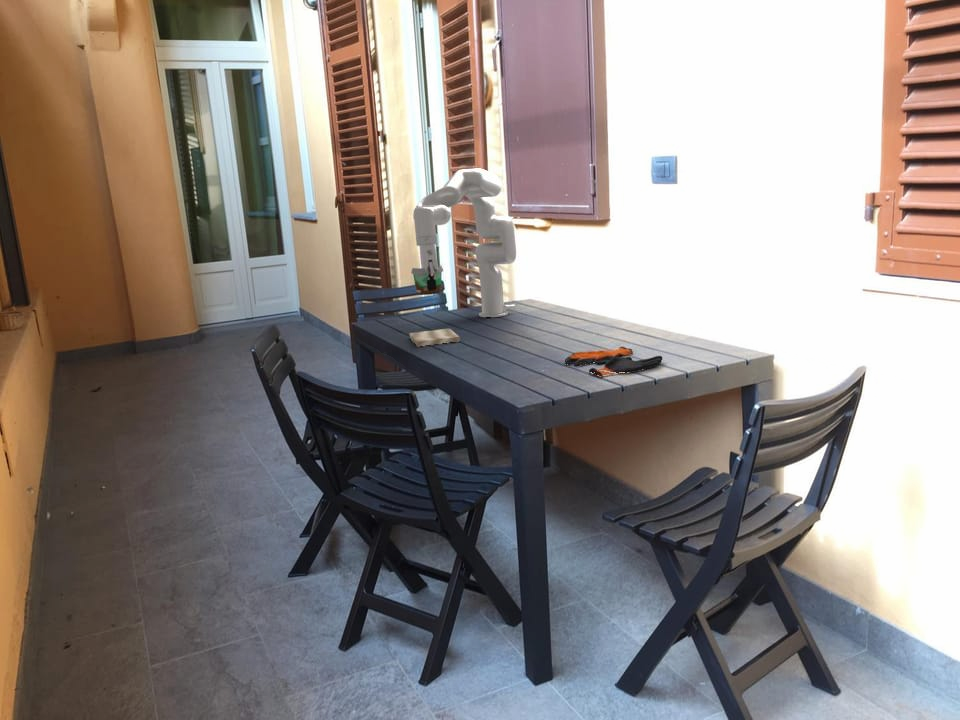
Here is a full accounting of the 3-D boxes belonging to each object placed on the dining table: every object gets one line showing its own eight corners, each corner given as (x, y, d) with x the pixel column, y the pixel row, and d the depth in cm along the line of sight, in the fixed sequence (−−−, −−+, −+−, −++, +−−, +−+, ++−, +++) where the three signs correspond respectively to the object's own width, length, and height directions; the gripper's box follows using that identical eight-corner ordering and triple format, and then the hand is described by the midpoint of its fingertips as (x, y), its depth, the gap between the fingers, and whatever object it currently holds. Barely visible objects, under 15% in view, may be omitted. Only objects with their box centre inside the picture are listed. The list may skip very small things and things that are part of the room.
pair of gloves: (556, 363, 251) (555, 353, 251) (620, 351, 261) (620, 341, 260) (603, 381, 227) (603, 369, 226) (672, 367, 236) (672, 356, 235)
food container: (417, 296, 290) (415, 269, 287) (412, 294, 295) (410, 267, 293) (449, 293, 294) (447, 266, 291) (443, 291, 299) (442, 264, 297)
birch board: (450, 333, 309) (449, 328, 309) (459, 341, 292) (459, 336, 292) (410, 338, 306) (409, 333, 305) (417, 347, 289) (416, 341, 288)
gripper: (440, 241, 283) (444, 291, 287) (432, 238, 299) (436, 285, 304) (420, 243, 282) (424, 293, 286) (412, 240, 298) (417, 287, 302)
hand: (430, 288), depth 295 cm, fingers closed on food container, 5 cm apart
